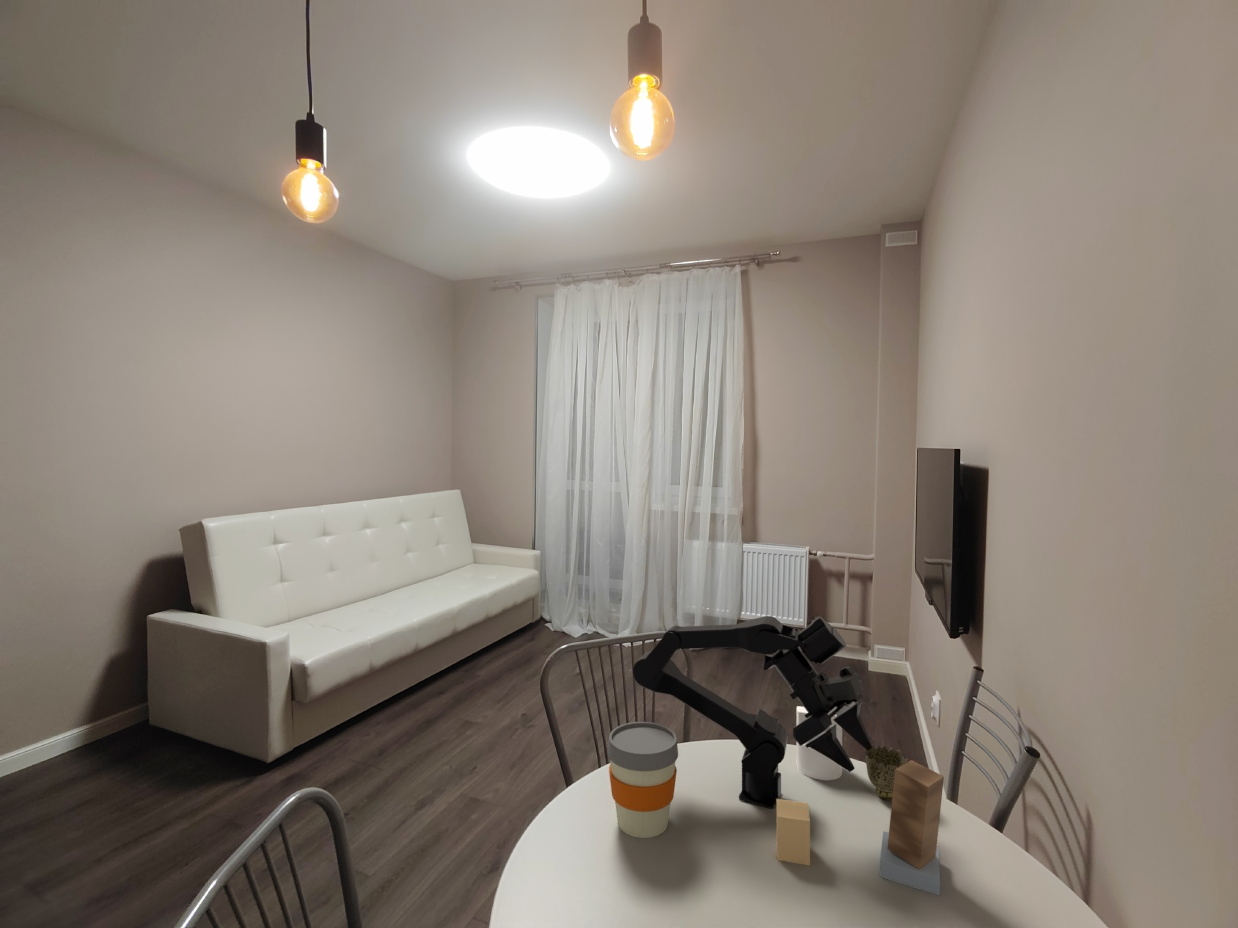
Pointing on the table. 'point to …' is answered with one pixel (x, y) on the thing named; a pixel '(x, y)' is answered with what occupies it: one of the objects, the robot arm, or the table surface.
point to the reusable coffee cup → (642, 776)
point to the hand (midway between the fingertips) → (861, 759)
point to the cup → (883, 769)
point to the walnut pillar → (915, 813)
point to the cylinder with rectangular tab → (817, 756)
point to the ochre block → (793, 832)
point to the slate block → (909, 870)
